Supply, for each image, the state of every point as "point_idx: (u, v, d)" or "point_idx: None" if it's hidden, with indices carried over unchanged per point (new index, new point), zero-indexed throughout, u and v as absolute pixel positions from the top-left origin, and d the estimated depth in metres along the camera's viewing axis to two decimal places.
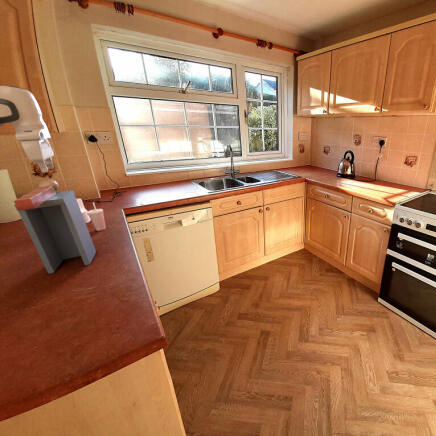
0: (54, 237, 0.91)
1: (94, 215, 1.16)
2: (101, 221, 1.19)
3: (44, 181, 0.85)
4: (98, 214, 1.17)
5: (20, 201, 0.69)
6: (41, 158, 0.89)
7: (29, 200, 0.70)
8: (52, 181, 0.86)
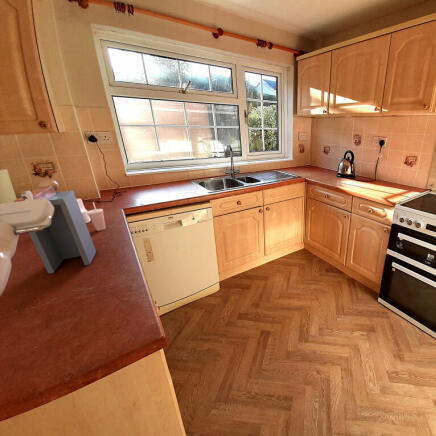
0: (54, 237, 0.91)
1: (94, 215, 1.16)
2: (101, 221, 1.19)
3: (44, 181, 0.85)
4: (98, 214, 1.17)
5: None
6: None
7: None
8: (52, 181, 0.86)
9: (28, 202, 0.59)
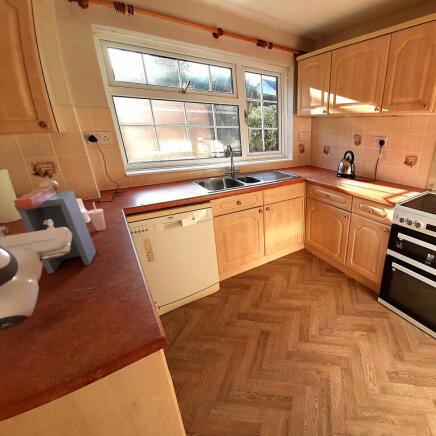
0: None
1: (94, 215, 1.16)
2: (101, 221, 1.19)
3: (44, 181, 0.85)
4: (98, 214, 1.17)
5: (20, 201, 0.69)
6: None
7: (29, 200, 0.70)
8: (52, 181, 0.86)
9: (50, 231, 0.68)
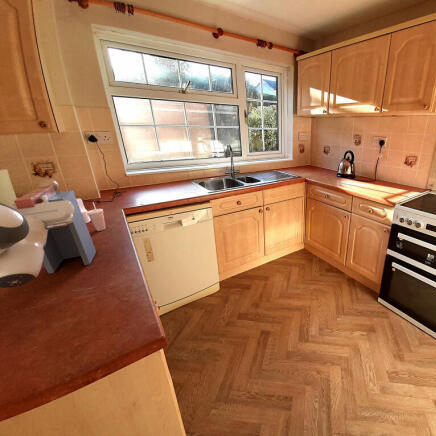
0: (54, 237, 0.91)
1: (94, 215, 1.16)
2: (101, 221, 1.19)
3: (44, 181, 0.85)
4: (98, 214, 1.17)
5: (20, 201, 0.70)
6: None
7: (29, 200, 0.70)
8: (52, 181, 0.86)
9: (54, 203, 0.73)
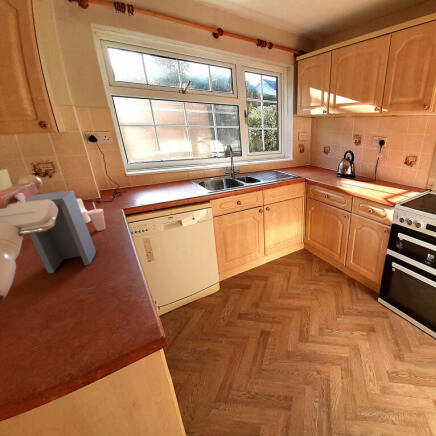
0: (54, 237, 0.91)
1: (94, 215, 1.16)
2: (101, 221, 1.19)
3: (24, 177, 0.71)
4: (98, 214, 1.17)
5: None
6: None
7: None
8: (34, 177, 0.72)
9: (32, 203, 0.59)
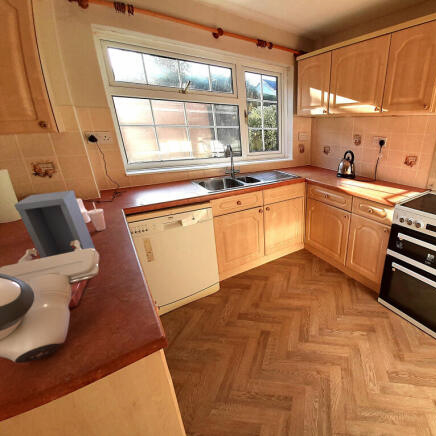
0: (54, 237, 0.91)
1: (94, 215, 1.16)
2: (101, 221, 1.19)
3: None
4: (98, 214, 1.17)
5: None
6: None
7: (71, 299, 0.69)
8: None
9: (78, 253, 0.66)
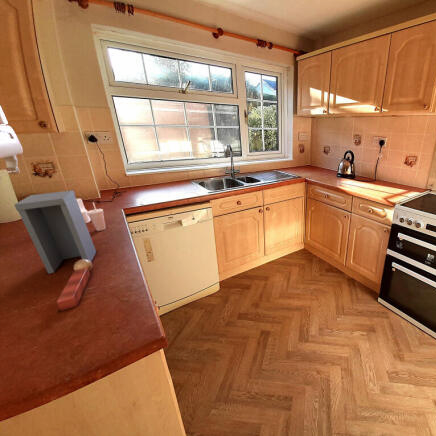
0: (54, 237, 0.91)
1: (94, 215, 1.16)
2: (101, 221, 1.19)
3: (79, 263, 0.83)
4: (98, 214, 1.17)
5: (63, 302, 0.68)
6: None
7: (71, 299, 0.69)
8: (86, 262, 0.84)
9: None
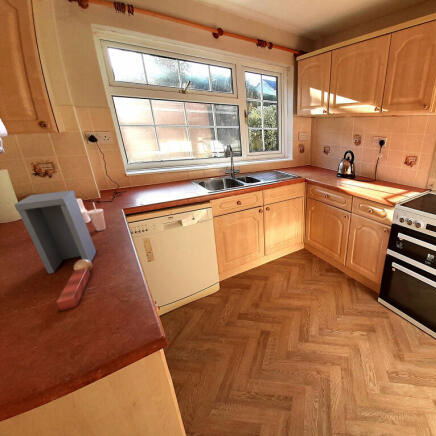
0: (54, 237, 0.91)
1: (94, 215, 1.16)
2: (101, 221, 1.19)
3: (79, 263, 0.83)
4: (98, 214, 1.17)
5: (63, 302, 0.68)
6: None
7: (71, 299, 0.69)
8: (86, 262, 0.84)
9: None
